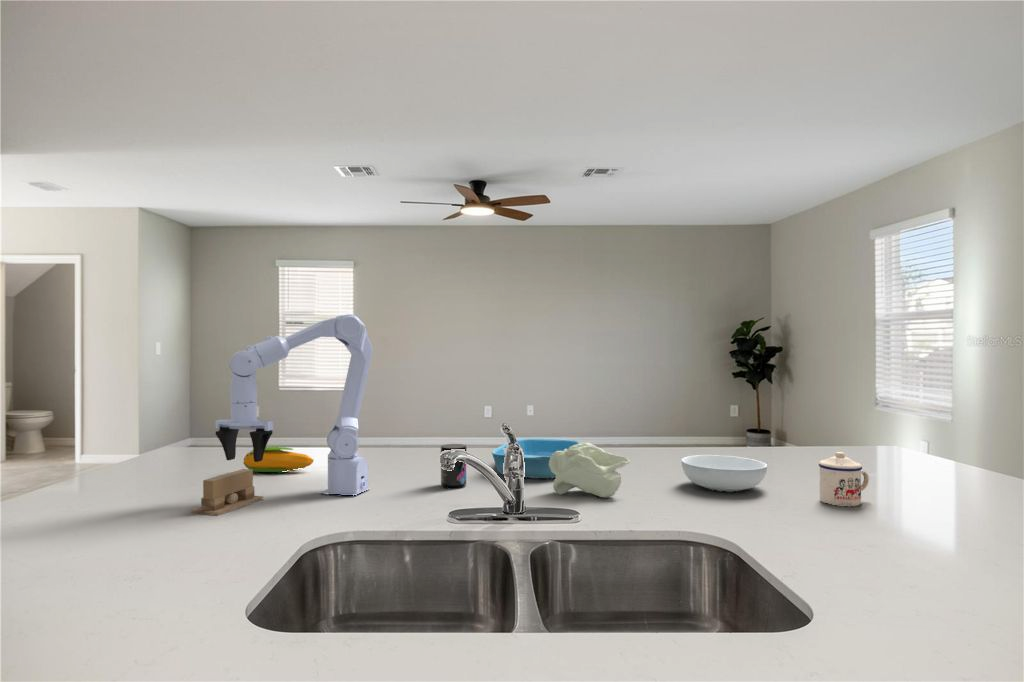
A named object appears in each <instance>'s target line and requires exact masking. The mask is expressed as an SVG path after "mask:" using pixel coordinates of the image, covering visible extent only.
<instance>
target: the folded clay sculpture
mask: <svg viewBox="0 0 1024 682" xmlns="http://www.w3.org/2000/svg"><path fill="white" fill-rule="evenodd" d="M630 463H631V461H630V459H628V458H627V457H625V456H622V455H618V454H614V453H610V452H608V451H606V450H604V449H602V448H600V447H598V446H597V445H595V444H592V443H590V442H587V441H586V442H580V443H579V444H576V445H573V446H570V447H569V449H568V450H567V449H564V450H563V451H556V452H555V453H553V454H552V455H551V458H550V460H549V467H550V469H551V472H553V473H554V474H555V475H556V477H555V479H554V480H553V485H552V486H553V490H554V492H555V493H556V494H557V495H560V494H562V495H565V494H566V493H568V492H569V491H570V490H571V489H574V488H577V489H579V490H581V491H583V492H584V493H586V494H587V493H588V494H592V495H594V496H598V497H599V498H603V499H604V498H606V499H607V498H610V497H613V496H614V495H616V492H617V491H618V490H619V488H620V486H621V484H622V475H621V474H620V473H619V472H618V471H617V469H620V468H623V467H626V466H627V465H629V464H630Z"/></svg>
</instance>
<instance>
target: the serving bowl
mask: <svg viewBox="0 0 1024 682" xmlns="http://www.w3.org/2000/svg"><path fill="white" fill-rule="evenodd" d="M680 461H681V467H682V470H683V473H684V475H685V476H686V478H687V479H688V480H689V481H690V482H692V483H694V484H696V485H698V486H699V487H703V488H706V489H707V488H708V489H707V490H710V489H711V490H710V491H714V490H717V491H716V492H722V491H726V492H727V493H733V492H734V491H736V492H741V491H743V490H750V489H752V488H755V487H757V486H758V485H760V484H761V483H762V481H764V479H765V477H766V475H767V469H768V464H767V463H765V462H763V461H760V460H757V459H752V458H749V457H748V458H747V457H742V456H735V455H733V456H732V455H723V454H722V455H721V454H698V455H696V454H695V455H688V456H686V457H685V456H684V457H682V458H681V460H680Z"/></svg>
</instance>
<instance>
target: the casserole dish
mask: <svg viewBox="0 0 1024 682" xmlns="http://www.w3.org/2000/svg"><path fill="white" fill-rule="evenodd" d="M516 440H517V442H518V444H519V445H520V446H521V448H522V449H523V452H524V455H523V457H524V462H525V477H526V478H527V477H530V478H529V479H539V478H546V479H545V480H548V479H549V478H551V479H554V478H555V479H556V475H555V474H554V473H553V472H551V469H550V467H549V460H550V458H551V455H552V454H553V453H555V452H556V451H563V450H564V449H567V450H568V449H569V447H570V446H573V445H576V444H579V443H581V442H580V441H579V440H574V439H564V438H551V437H550V438H546V437H545V438H541V437H539V438H538V437H537V438H536V437H535V438H532V437H531V438H518V439H516ZM507 444H508V442H506V443H504V444H502V445H500V446H499V447H496V448H495V449H492V451H491V454H492V457H493V460H494V463H495V467H496V469H497V471H498V472H499V474H501V475H503V463H504V457H505V453H504V450H503V448H505V447H506V446H507Z"/></svg>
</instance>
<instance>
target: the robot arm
mask: <svg viewBox="0 0 1024 682" xmlns="http://www.w3.org/2000/svg"><path fill="white" fill-rule="evenodd" d="M320 338H335V339H336V340H338V341H339V342H340V343H342V344H343V345H344V346H345V348H346V349H347V350H348V352H349V353H350V355H351V356H350V358H349V359H350V360H349V365H348V368H347V372H346V378H345V382H344V387H343V391H342V395H341V400H340V404H339V410H338V414H337V417H336V419H335V420H334V423H333V426H332V429H331V430H330V431H329V432H328V435H326V436H327V437H326V444H327V447H328V448H329V449H330V452H329V453H328V454H327V488H326V489H325V490H321V491H320V494H321V493H328V494H327V495H329V494H341V495H353V496H352V497H355V496H354V495H356V496H358V495H357V494H359V493H361V492H363V493H365V492H367V491H369V490H368V489H371V488H370V487H369V463H368V460H367V458H365V457H360V456H359V455H358V452H357V451H358V449H359V448H360V441H359V436H358V435H359V430H360V429H359V416H360V411H361V406H362V403H363V399H364V393H365V388H366V384H367V380H368V379H367V378H368V374H369V369H370V366H371V363H372V362H371V361H372V358H373V357H372V356H373V352H374V351H373V346H372V343H371V340H370V339H369V335H368V332H367V326H366V325H365V324H364V322H362V320H361V319H360V318H359V317H358V316H357V315H355V314H351V313H349V314H348V313H347V314H341V315H337V316H336V317H331V318H328V319H324V320H321V321H317V322H315V323H314V324H311V325H310V326H307V327H305V328H303V329H301V330H299V331H296V332H294V333H293V334H291V335H288V336H286V337H281V336H279V335H275V336H272V335H268V336H266V337H265V340H263V341H260V342H258V343H256V344H254V345H252V346H251V344H249V345H247V346H245V348H246V350H240V351H237V352H235V353H234V354H232V356H231V357H230V360H229V363H228V365H229V366H228V367H229V368H230V370H231V374H230V380H231V382H230V383H229V384H230V386H229V387H230V419H218V420H215V422H214V423H215V430H216V431H215V436H216V437H217V438H218V441H219V442H220V444H221V446H222V448H223V449H222V450H223V452H224V455H225V458H226V459H225V460H226V461H231V460H235V459H236V450H237V449H236V448H237V447H236V446H237V438H238V435H239V431H240V430H247V431H248V430H250V431H249V436H250V439H251V443H252V448H253V449H252V450H253V456H254V462H259V461H262V459H263V455H264V451H265V448H266V447H267V444H268V442H269V440H270V438H271V436H272V435H273V431H274V421H271V420H270V421H269V420H261V419H258V387H257V386H258V383H257V381H256V380H257V377H256V374H257V373H256V372H257V370H258V368H260V369H264V368H266V367H269V366H270V365H271V366H272V364H273V365H274V364H275V363H277V362H280V361H282V360H284V359H286V358H288V357H289V353H290V351H291V350H292V349H295V348H298V347H300V346H302V345H305V344H307V343H309V342H312V341H314V340H316V339H320ZM251 430H253V431H251ZM366 490H367V491H366ZM364 491H365V492H364ZM361 494H362V493H361ZM341 495H340V496H341ZM359 495H360V494H359Z"/></svg>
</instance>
